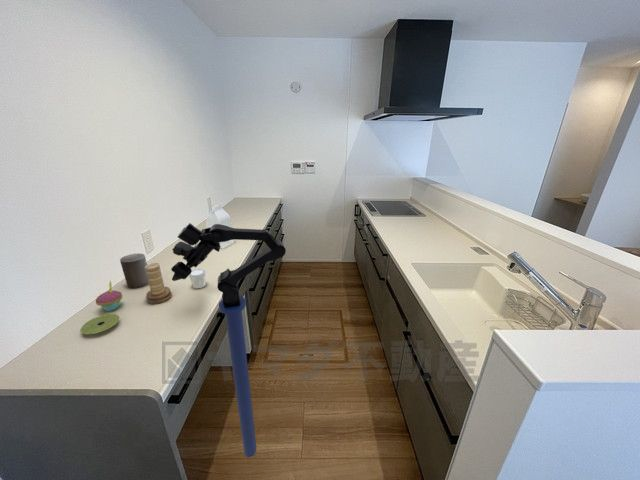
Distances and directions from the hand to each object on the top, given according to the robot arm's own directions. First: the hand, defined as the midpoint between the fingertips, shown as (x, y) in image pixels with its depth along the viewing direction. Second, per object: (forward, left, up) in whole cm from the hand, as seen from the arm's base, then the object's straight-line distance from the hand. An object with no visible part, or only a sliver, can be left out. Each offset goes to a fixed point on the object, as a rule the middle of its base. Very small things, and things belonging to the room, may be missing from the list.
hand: (179, 274), depth 108 cm
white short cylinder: (-5, -13, -13) cm, 19 cm away
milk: (-14, -65, -14) cm, 67 cm away
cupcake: (+28, -5, -14) cm, 31 cm away
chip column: (+11, -7, -10) cm, 16 cm away
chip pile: (+11, -7, -14) cm, 18 cm away
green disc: (+27, +8, -14) cm, 31 cm away
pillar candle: (+23, -24, -14) cm, 35 cm away
